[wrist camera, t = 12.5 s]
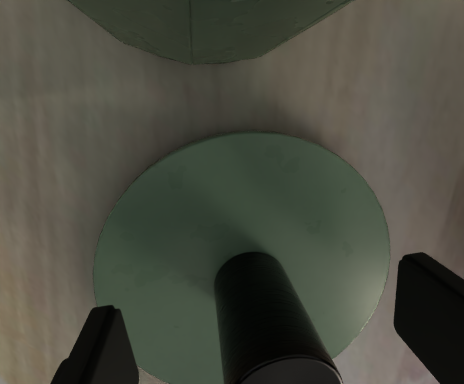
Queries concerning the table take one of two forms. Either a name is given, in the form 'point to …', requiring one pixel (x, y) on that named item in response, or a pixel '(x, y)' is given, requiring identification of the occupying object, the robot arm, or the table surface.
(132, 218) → the tin lid
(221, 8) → the cup
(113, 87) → the table surface
